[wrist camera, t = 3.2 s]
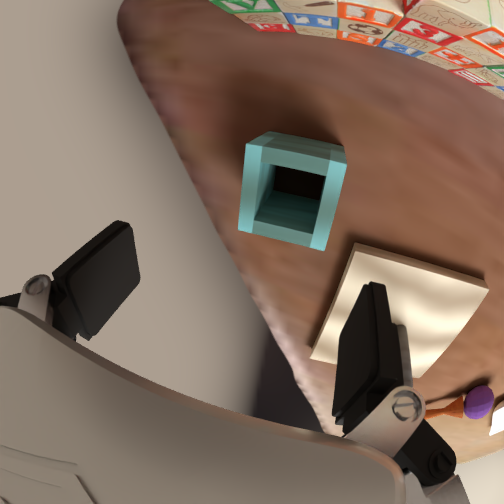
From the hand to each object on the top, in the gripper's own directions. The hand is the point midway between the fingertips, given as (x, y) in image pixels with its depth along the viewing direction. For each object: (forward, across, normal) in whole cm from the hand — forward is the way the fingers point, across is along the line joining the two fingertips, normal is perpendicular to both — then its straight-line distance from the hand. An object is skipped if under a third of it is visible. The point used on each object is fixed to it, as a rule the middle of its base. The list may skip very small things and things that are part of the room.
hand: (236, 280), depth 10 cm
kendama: (+14, -34, +29) cm, 47 cm away
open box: (+14, -1, 0) cm, 14 cm away
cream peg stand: (+14, -15, +13) cm, 24 cm away
